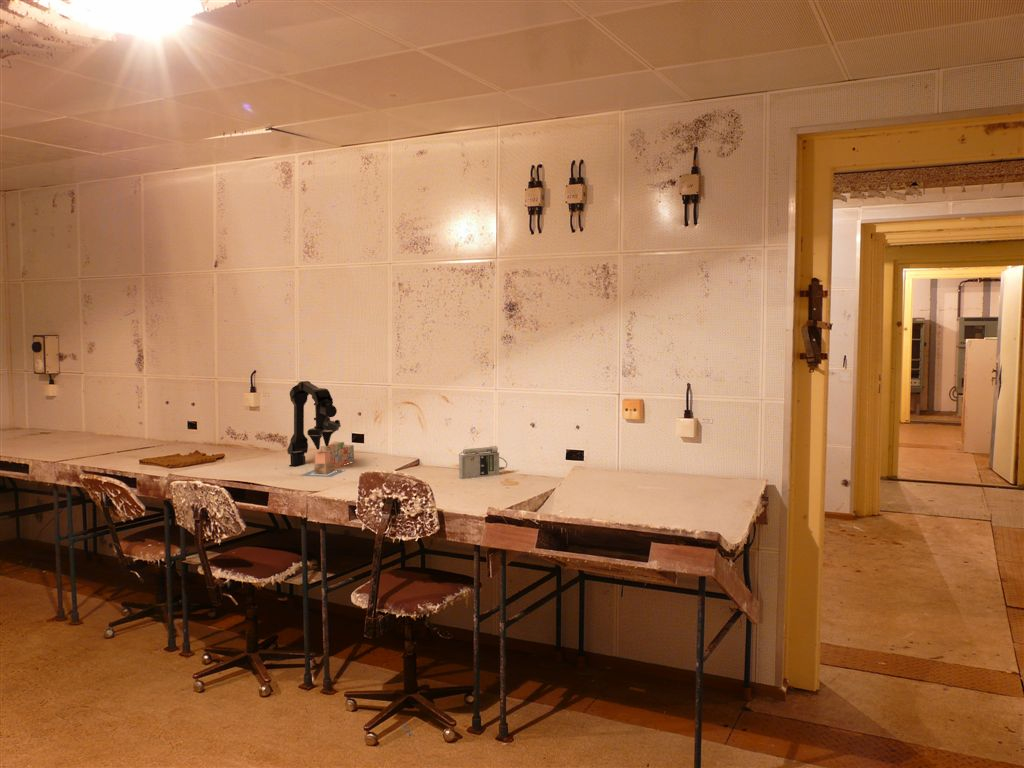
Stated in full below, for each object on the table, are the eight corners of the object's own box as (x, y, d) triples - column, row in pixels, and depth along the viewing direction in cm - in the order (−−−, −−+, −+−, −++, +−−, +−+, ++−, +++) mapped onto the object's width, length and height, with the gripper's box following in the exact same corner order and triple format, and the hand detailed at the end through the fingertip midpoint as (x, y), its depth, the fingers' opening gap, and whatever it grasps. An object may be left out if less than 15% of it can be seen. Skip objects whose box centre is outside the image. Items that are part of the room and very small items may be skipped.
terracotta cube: (315, 463, 377) (315, 453, 376) (320, 461, 381) (320, 451, 381) (325, 463, 375) (324, 453, 375) (330, 461, 380) (329, 451, 380)
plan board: (299, 476, 373) (299, 475, 373) (315, 470, 388) (315, 469, 388) (331, 478, 369) (331, 476, 369) (345, 471, 385) (345, 470, 385)
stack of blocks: (343, 462, 411) (343, 438, 410) (354, 462, 409) (353, 439, 408) (320, 469, 391) (320, 445, 390) (331, 470, 389) (331, 445, 388)
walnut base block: (314, 473, 377) (314, 463, 376) (320, 471, 382) (320, 461, 382) (326, 474, 375) (325, 464, 375) (331, 472, 381) (331, 461, 381)
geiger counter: (461, 449, 364) (510, 445, 375) (456, 447, 369) (504, 443, 381) (462, 479, 365) (510, 474, 376) (456, 477, 370) (504, 472, 382)
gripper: (328, 418, 366) (329, 451, 367) (345, 413, 384) (346, 445, 385) (306, 417, 368) (307, 450, 369) (324, 412, 386) (325, 444, 387)
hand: (322, 447), depth 378 cm, fingers open, 9 cm apart
